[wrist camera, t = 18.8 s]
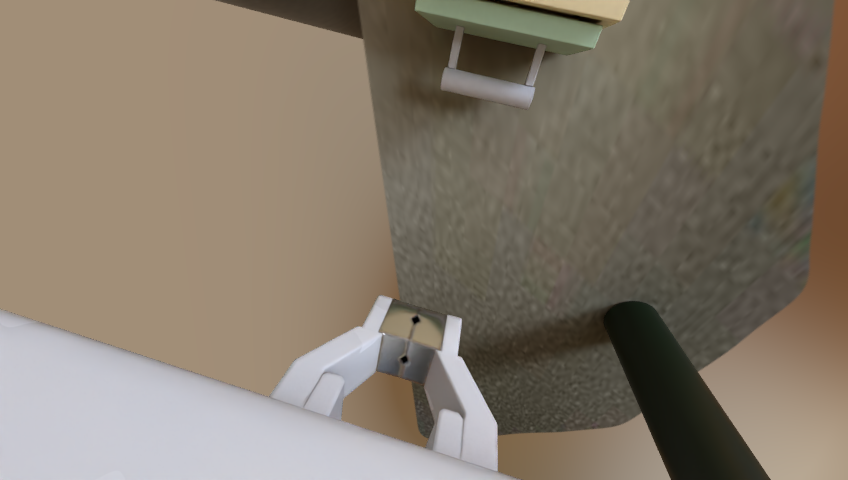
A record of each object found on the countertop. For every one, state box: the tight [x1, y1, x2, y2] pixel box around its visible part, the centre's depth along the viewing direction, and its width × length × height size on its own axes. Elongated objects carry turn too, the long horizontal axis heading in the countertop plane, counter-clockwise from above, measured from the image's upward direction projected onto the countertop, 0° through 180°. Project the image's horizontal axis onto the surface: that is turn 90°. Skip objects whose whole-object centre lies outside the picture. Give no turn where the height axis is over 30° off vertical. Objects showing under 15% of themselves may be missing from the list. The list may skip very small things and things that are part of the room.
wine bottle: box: [604, 301, 771, 480], centre depth 24 cm, size 6×6×30 cm
